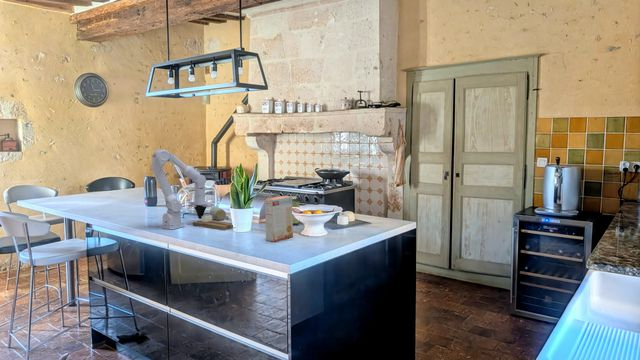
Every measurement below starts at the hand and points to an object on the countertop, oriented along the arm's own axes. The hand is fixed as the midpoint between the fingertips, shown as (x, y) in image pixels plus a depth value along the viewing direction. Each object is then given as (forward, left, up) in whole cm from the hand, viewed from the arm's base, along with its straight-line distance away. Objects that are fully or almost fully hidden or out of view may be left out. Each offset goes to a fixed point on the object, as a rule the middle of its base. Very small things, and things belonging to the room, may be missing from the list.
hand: (200, 218), depth 264 cm
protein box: (+27, -41, -4) cm, 49 cm away
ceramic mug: (+17, +2, -4) cm, 17 cm away
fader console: (0, -11, -3) cm, 12 cm away
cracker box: (-5, -61, -4) cm, 61 cm away
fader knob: (0, -5, -1) cm, 5 cm away
